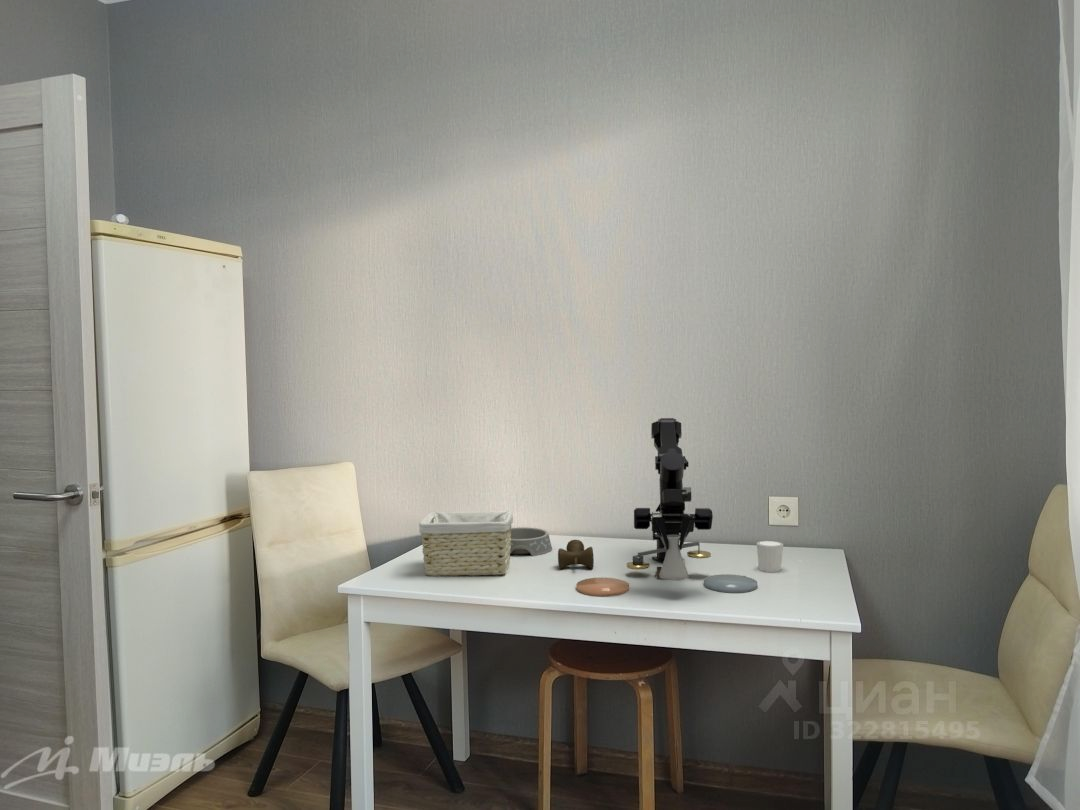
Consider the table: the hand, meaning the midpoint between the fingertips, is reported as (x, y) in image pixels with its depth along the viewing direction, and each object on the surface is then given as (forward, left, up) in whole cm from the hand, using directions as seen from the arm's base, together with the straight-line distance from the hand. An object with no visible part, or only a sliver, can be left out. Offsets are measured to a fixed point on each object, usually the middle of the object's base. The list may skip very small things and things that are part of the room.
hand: (674, 548), depth 195 cm
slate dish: (-1, +18, -12) cm, 21 cm away
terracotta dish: (-14, -11, -12) cm, 21 cm away
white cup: (-8, +37, -12) cm, 39 cm away
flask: (-1, +1, -7) cm, 7 cm away
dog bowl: (-61, -11, -12) cm, 63 cm away
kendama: (-38, -6, -12) cm, 40 cm away
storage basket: (-48, -34, -12) cm, 60 cm away
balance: (-16, +10, -12) cm, 22 cm away
